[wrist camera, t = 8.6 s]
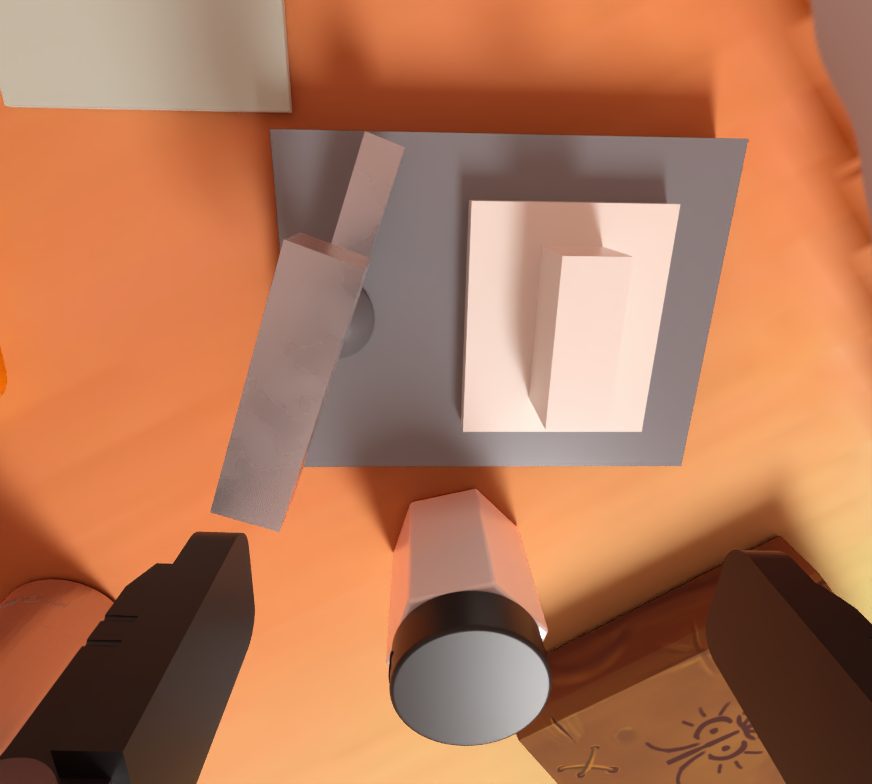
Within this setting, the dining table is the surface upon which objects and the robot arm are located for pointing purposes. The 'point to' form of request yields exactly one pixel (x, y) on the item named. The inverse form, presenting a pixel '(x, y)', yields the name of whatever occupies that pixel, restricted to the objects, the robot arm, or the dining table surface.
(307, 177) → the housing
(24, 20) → the mat
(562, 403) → the cover
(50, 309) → the dining table surface
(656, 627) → the diary
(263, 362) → the t key
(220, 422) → the dining table surface
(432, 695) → the jar
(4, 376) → the element tile
